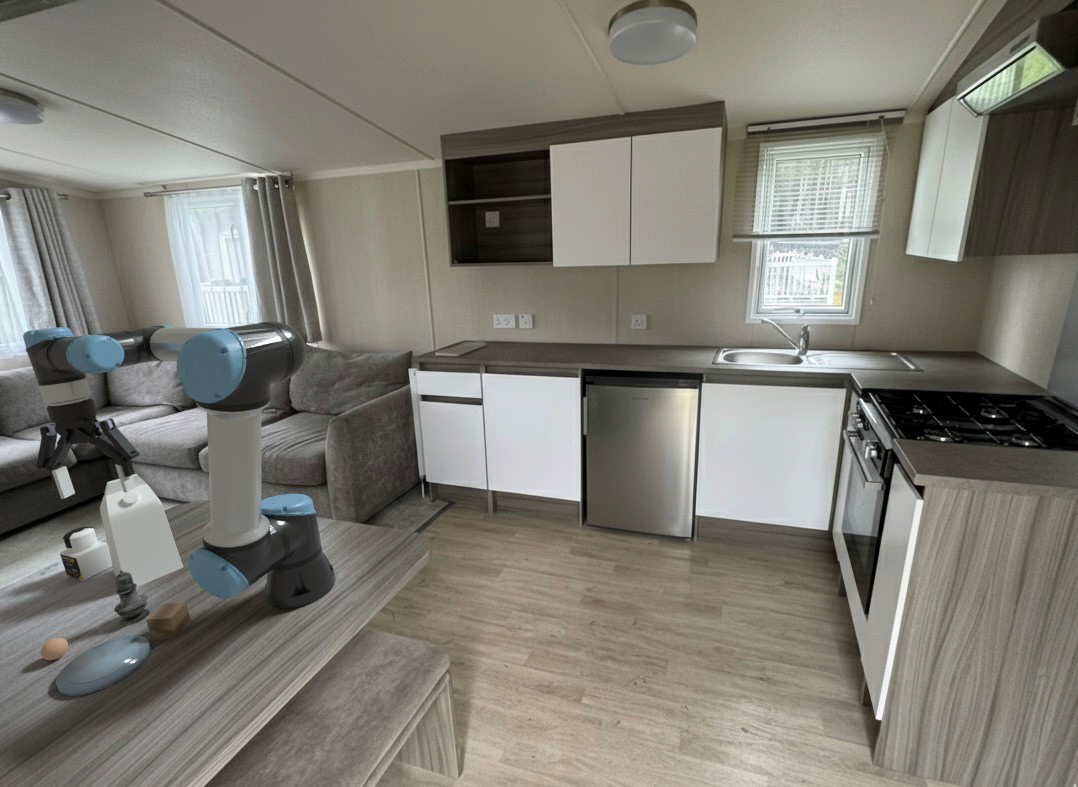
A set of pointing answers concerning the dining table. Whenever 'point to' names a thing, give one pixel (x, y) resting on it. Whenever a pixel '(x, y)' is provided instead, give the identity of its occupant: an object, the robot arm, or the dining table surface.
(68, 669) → the plate
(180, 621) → the walnut block
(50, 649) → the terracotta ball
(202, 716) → the dining table surface
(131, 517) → the milk
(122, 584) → the stone chess piece
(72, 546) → the medicine bottle
